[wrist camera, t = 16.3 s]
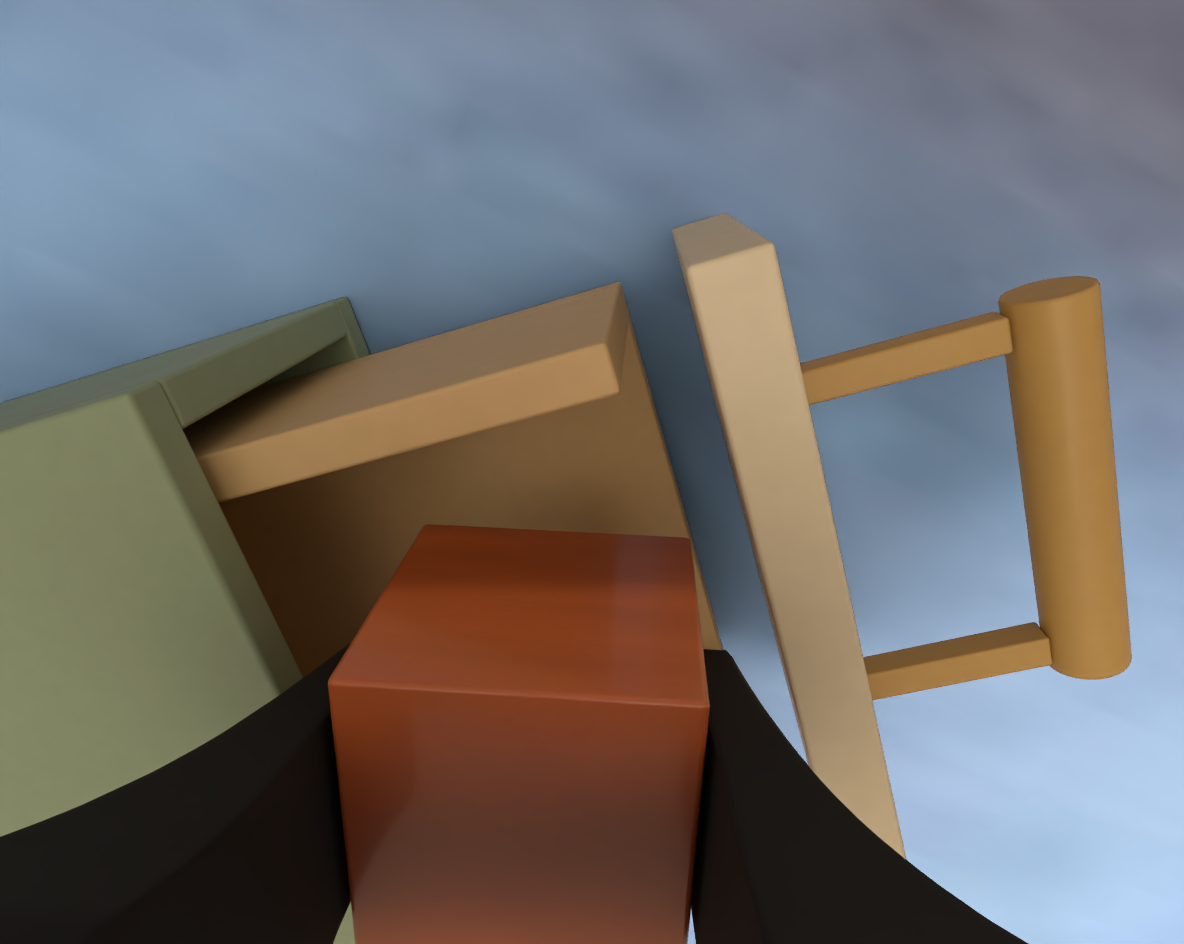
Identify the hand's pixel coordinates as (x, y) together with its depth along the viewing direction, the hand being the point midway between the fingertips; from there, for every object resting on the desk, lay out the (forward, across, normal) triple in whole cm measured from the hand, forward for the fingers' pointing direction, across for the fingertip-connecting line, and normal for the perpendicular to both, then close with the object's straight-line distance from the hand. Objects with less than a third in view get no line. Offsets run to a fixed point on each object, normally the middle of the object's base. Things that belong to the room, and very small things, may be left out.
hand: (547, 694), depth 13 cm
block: (+1, 0, 0) cm, 1 cm away
